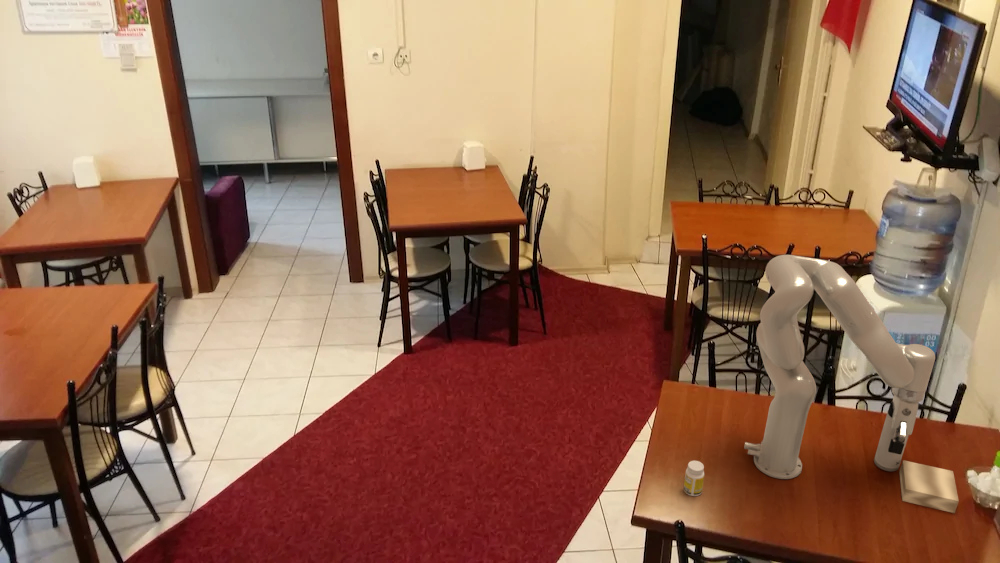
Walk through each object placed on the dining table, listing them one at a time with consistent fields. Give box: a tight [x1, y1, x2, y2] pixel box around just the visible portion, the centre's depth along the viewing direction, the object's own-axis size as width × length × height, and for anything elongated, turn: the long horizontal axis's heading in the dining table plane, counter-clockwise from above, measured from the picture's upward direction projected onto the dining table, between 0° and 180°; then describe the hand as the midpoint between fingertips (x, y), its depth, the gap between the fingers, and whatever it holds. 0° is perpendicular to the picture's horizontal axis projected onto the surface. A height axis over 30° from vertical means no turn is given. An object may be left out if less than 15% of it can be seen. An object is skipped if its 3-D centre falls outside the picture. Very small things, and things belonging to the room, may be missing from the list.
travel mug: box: [873, 402, 910, 472], centre depth 205 cm, size 6×7×20 cm
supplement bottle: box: [683, 460, 705, 497], centre depth 199 cm, size 5×5×8 cm
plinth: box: [898, 459, 960, 514], centre depth 199 cm, size 12×12×4 cm
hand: (893, 441), depth 206 cm, fingers open, 9 cm apart
